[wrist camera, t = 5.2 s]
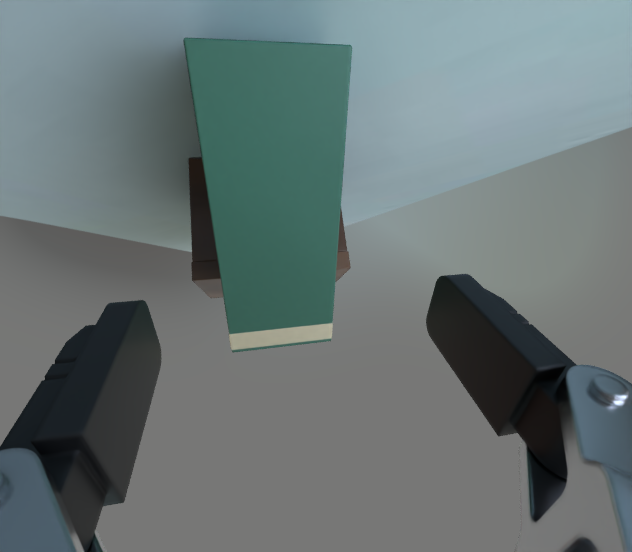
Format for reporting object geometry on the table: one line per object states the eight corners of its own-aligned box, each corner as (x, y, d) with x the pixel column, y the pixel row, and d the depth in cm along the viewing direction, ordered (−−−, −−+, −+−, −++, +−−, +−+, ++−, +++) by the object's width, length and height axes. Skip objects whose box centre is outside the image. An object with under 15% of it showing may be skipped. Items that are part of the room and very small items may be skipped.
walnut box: (187, 157, 22) (192, 280, 20) (334, 155, 23) (350, 268, 22) (205, 203, 29) (210, 298, 27) (318, 199, 30) (330, 287, 29)
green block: (179, -38, 11) (194, 356, 8) (341, -24, 12) (400, 331, 9) (224, 168, 23) (236, 352, 21) (301, 166, 24) (322, 341, 22)
